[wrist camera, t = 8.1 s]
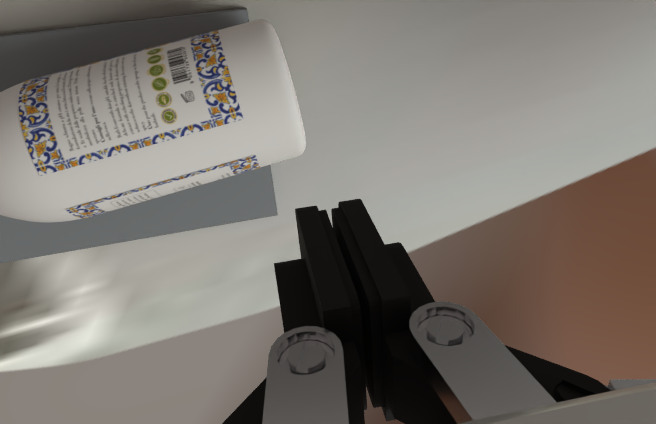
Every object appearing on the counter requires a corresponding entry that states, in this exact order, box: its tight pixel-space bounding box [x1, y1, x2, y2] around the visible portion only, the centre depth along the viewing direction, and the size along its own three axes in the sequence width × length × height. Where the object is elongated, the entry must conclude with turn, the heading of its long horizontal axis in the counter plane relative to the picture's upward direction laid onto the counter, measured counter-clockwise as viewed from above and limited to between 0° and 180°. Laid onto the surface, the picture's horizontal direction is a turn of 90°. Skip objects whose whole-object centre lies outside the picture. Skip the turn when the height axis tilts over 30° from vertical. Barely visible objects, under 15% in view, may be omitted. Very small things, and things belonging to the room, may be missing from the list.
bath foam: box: [0, 20, 306, 222], centre depth 24 cm, size 7×7×20 cm
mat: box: [0, 8, 278, 263], centre depth 28 cm, size 17×13×1 cm
